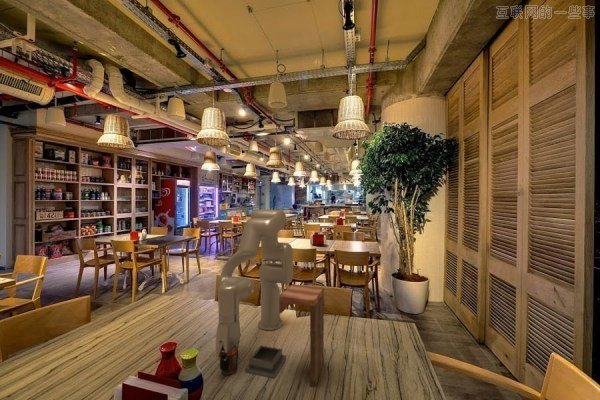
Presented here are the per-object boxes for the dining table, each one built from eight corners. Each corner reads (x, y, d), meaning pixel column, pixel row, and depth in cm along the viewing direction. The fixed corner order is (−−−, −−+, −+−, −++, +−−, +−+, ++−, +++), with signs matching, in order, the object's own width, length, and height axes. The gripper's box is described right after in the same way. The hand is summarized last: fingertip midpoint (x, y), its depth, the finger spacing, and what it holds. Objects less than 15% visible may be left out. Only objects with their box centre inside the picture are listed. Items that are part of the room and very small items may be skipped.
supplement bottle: (238, 365, 105) (238, 336, 105) (235, 375, 99) (235, 345, 99) (223, 365, 105) (223, 336, 105) (219, 376, 99) (219, 345, 99)
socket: (259, 354, 113) (259, 343, 113) (286, 359, 109) (286, 348, 109) (244, 371, 101) (244, 360, 101) (274, 378, 98) (274, 366, 98)
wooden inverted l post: (292, 357, 111) (292, 284, 110) (323, 363, 107) (323, 287, 106) (279, 379, 97) (279, 296, 97) (314, 387, 93) (314, 300, 93)
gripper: (232, 306, 111) (232, 350, 112) (206, 325, 95) (206, 376, 95) (248, 308, 109) (249, 353, 109) (224, 329, 93) (225, 381, 93)
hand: (229, 363), depth 102 cm, fingers closed on supplement bottle, 6 cm apart
